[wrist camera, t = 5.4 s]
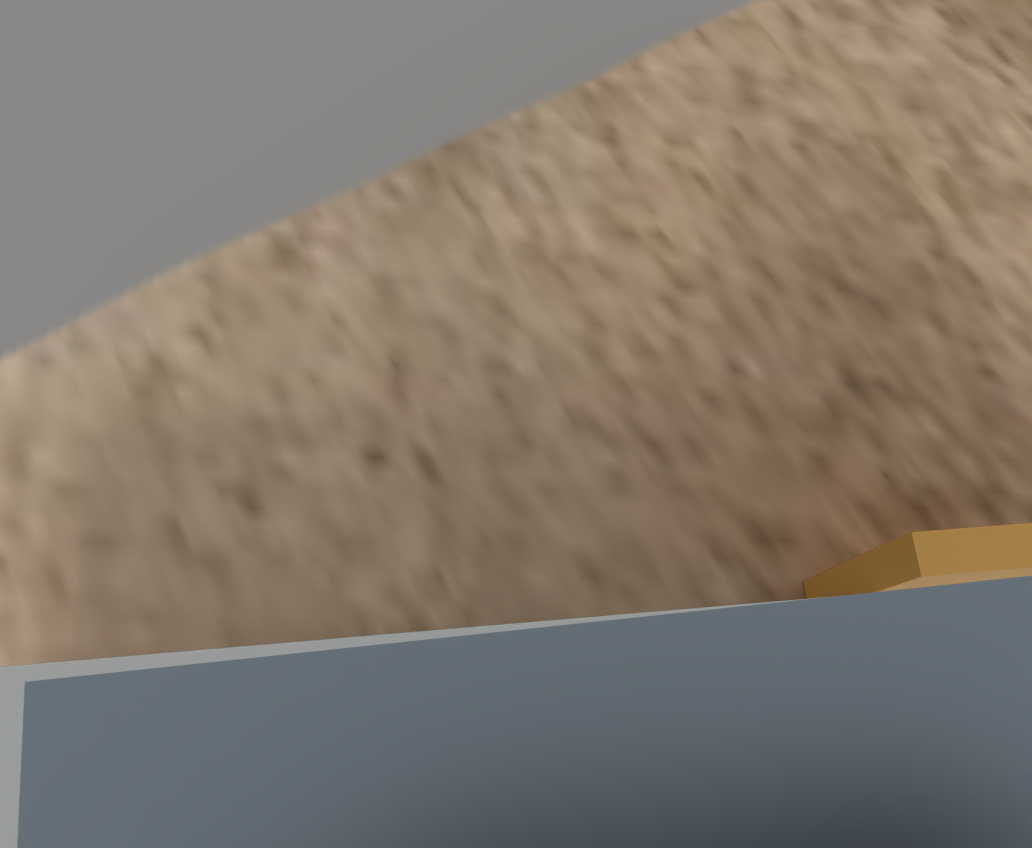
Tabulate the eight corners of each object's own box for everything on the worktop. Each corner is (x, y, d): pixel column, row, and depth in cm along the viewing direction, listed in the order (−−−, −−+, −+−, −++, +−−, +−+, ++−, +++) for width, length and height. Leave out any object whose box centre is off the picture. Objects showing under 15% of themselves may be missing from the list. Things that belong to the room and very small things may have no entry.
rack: (1176, 890, 21) (1419, 938, 16) (51, 1024, 19) (-100, 1134, 13) (1085, 557, 23) (1272, 504, 18) (69, 641, 21) (-54, 607, 16)
